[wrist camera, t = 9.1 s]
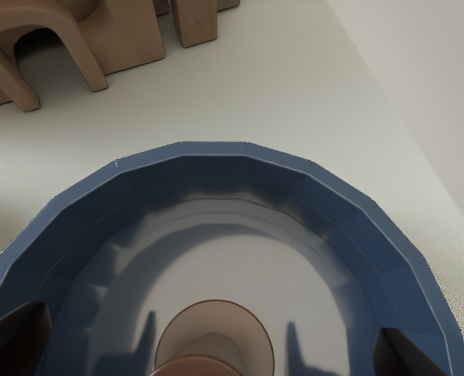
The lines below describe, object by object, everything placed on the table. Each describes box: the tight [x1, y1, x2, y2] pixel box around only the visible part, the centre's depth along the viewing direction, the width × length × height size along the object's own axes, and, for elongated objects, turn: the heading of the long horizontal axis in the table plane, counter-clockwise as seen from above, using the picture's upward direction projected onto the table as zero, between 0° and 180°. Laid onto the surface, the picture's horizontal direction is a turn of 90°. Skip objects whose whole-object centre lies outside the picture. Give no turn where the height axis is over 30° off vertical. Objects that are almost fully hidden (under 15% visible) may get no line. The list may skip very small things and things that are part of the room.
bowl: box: [0, 142, 464, 376], centre depth 13 cm, size 15×15×6 cm
